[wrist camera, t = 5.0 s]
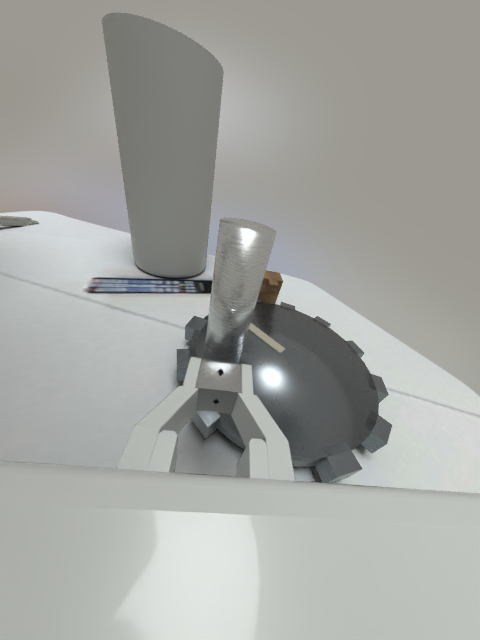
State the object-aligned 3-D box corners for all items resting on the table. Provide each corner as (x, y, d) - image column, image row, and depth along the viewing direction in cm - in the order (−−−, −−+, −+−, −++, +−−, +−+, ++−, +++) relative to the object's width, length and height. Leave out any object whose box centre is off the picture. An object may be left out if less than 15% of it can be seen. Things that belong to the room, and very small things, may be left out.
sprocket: (139, 473, 11) (61, 263, 4) (198, 299, 27) (207, 192, 20) (434, 492, 13) (762, 386, 6) (329, 321, 29) (382, 232, 22)
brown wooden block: (255, 312, 29) (263, 283, 26) (253, 297, 33) (261, 269, 30) (274, 316, 29) (285, 286, 26) (270, 299, 33) (279, 272, 30)
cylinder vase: (157, 247, 42) (147, 69, 27) (213, 262, 41) (233, 88, 27) (118, 267, 32) (67, -1, 17) (191, 287, 31) (203, 30, 17)
